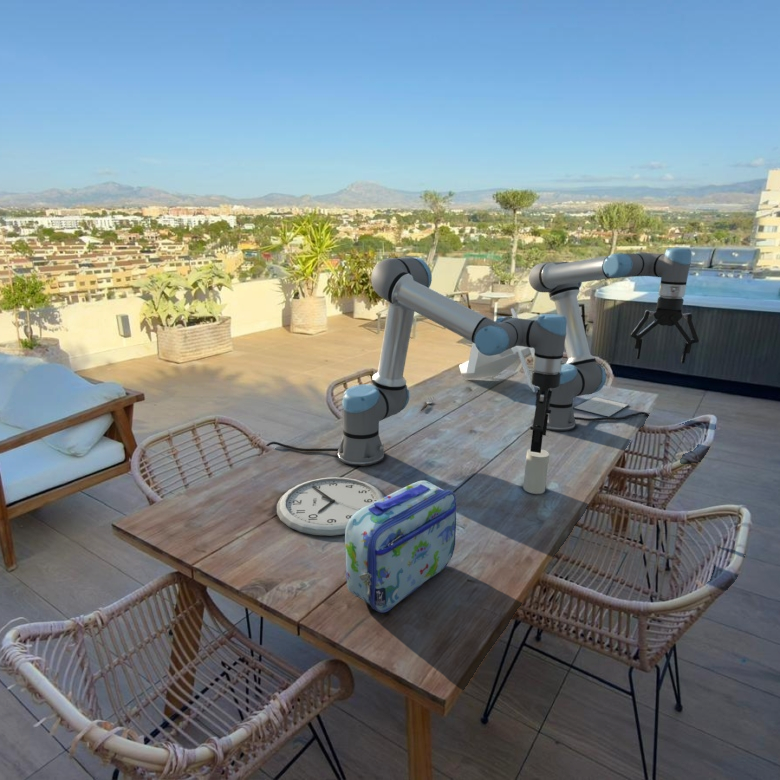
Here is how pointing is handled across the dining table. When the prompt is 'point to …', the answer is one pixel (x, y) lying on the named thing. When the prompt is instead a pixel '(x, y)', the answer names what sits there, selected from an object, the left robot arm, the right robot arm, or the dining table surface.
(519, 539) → the dining table surface
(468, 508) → the dining table surface
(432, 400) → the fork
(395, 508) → the lunch box
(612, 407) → the invitation card
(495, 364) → the white plastic object
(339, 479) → the wall clock
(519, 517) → the dining table surface
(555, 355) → the left robot arm
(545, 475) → the canister
